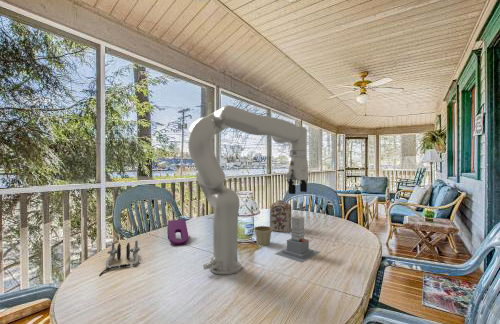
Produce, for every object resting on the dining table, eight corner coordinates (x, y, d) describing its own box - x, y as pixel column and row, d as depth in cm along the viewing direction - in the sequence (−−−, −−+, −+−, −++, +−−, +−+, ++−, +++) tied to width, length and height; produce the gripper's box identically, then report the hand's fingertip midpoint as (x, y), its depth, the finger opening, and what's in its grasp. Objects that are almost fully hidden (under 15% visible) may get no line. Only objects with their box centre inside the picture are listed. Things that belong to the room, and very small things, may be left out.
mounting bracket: (188, 253, 134) (184, 230, 149) (189, 241, 130) (185, 219, 145) (169, 256, 130) (167, 232, 145) (170, 243, 127) (167, 220, 142)
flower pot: (250, 246, 127) (250, 229, 127) (258, 241, 135) (258, 225, 135) (267, 250, 122) (268, 231, 122) (275, 244, 131) (275, 227, 131)
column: (299, 251, 112) (299, 218, 112) (291, 249, 115) (291, 217, 115) (304, 249, 116) (304, 217, 115) (296, 247, 118) (296, 215, 118)
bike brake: (107, 255, 113) (99, 282, 95) (107, 240, 112) (98, 265, 94) (141, 252, 118) (139, 277, 99) (141, 238, 117) (139, 260, 98)
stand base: (302, 265, 105) (302, 246, 105) (274, 256, 114) (274, 239, 114) (320, 254, 117) (320, 237, 117) (294, 247, 126) (294, 231, 126)
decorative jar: (269, 231, 155) (269, 201, 155) (273, 226, 166) (273, 198, 166) (289, 232, 152) (289, 202, 152) (291, 227, 163) (291, 199, 163)
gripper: (295, 154, 106) (294, 195, 106) (314, 154, 119) (314, 191, 119) (280, 154, 111) (279, 193, 111) (300, 155, 124) (300, 190, 124)
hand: (297, 192), depth 115 cm, fingers open, 9 cm apart
